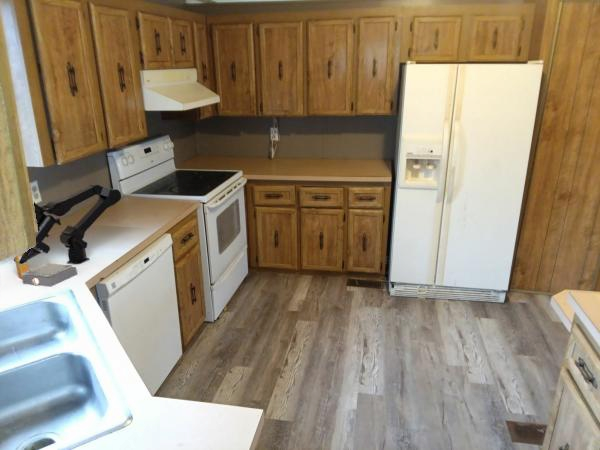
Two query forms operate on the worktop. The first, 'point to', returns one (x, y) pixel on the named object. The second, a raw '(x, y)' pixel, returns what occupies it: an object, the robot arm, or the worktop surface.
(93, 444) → the worktop surface
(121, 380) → the worktop surface
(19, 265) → the supplement box
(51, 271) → the pan
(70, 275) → the kitchen scale
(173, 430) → the worktop surface
